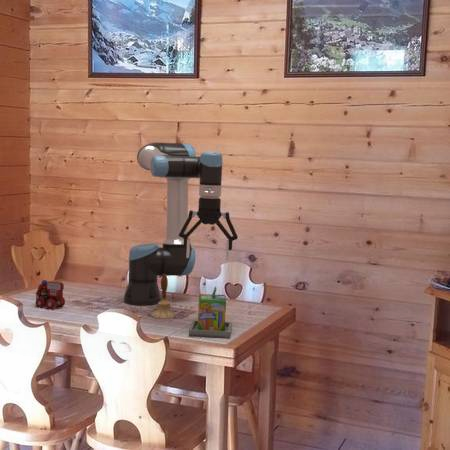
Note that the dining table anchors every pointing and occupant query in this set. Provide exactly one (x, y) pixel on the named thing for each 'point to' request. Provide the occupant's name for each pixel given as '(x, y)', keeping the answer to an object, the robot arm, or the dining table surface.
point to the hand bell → (163, 303)
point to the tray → (209, 331)
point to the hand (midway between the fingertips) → (207, 258)
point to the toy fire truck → (50, 295)
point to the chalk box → (211, 312)
